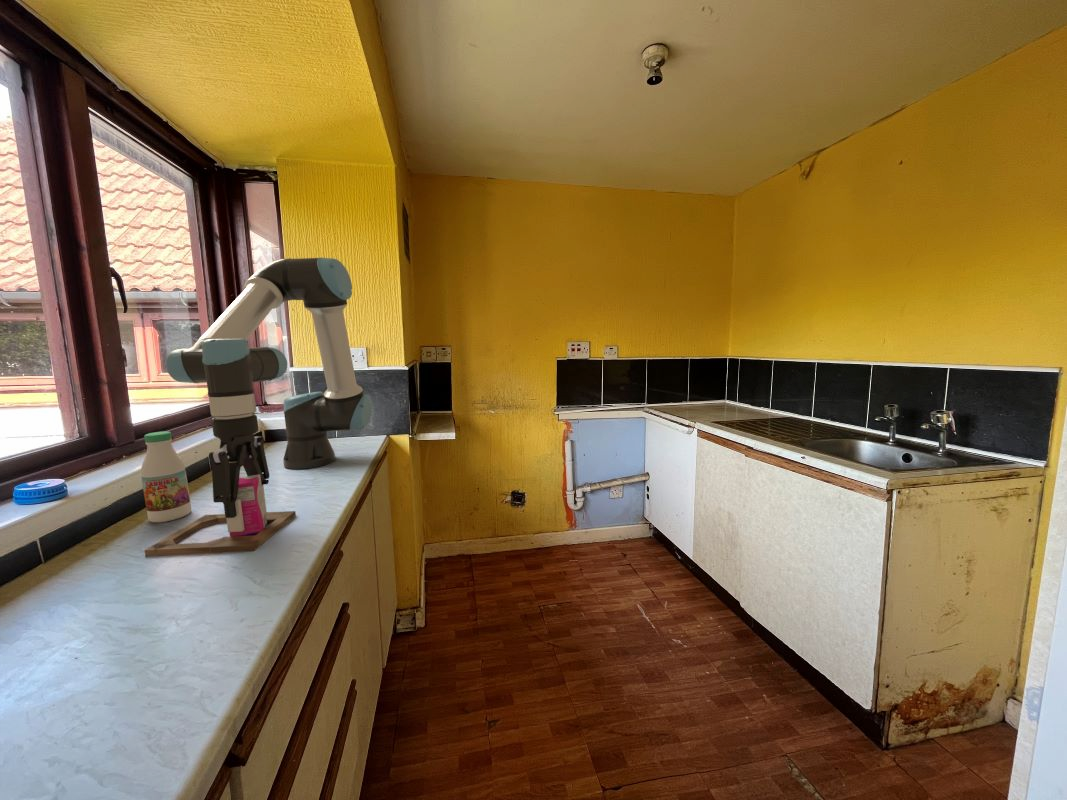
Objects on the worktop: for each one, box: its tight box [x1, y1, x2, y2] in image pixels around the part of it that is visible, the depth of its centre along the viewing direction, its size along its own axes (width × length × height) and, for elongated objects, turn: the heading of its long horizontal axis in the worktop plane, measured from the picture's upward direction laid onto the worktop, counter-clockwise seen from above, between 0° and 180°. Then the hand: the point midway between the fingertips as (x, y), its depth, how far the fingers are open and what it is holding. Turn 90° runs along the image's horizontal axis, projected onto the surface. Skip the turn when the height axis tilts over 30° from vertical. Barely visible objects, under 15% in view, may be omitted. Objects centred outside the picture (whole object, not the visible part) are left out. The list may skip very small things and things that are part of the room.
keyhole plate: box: [144, 510, 297, 557], centre depth 88 cm, size 16×20×1 cm
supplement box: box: [228, 474, 268, 537], centre depth 87 cm, size 6×6×12 cm
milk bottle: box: [140, 431, 192, 523], centre depth 96 cm, size 8×8×20 cm
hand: (248, 522), depth 88 cm, fingers closed on supplement box, 7 cm apart
